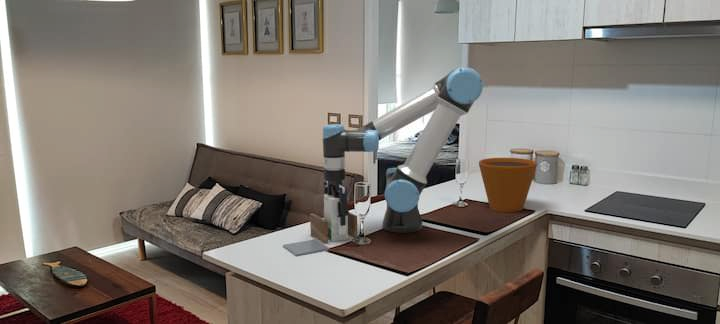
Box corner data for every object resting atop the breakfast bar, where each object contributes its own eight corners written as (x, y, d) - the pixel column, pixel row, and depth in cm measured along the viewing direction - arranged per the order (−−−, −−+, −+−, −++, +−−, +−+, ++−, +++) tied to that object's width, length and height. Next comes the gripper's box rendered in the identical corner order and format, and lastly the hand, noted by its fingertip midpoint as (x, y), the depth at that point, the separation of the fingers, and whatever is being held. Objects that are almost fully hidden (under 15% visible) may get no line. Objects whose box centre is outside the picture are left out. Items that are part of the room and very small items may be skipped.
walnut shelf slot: (342, 229, 202) (341, 209, 201) (357, 237, 192) (357, 215, 191) (310, 235, 196) (310, 213, 195) (324, 243, 186) (324, 221, 185)
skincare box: (323, 236, 195) (322, 194, 193) (340, 233, 198) (339, 192, 195) (331, 242, 187) (330, 198, 185) (349, 239, 190) (348, 196, 187)
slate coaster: (314, 240, 190) (314, 239, 189) (329, 249, 179) (329, 248, 179) (282, 246, 184) (282, 244, 184) (296, 256, 173) (296, 254, 173)
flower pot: (515, 218, 214) (516, 168, 210) (466, 207, 231) (467, 162, 228) (546, 207, 229) (548, 161, 226) (499, 198, 247) (499, 155, 243)
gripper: (312, 165, 196) (314, 225, 199) (338, 174, 177) (340, 240, 181) (330, 163, 199) (332, 222, 203) (358, 171, 181) (359, 236, 185)
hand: (336, 230), depth 192 cm, fingers closed on skincare box, 8 cm apart
